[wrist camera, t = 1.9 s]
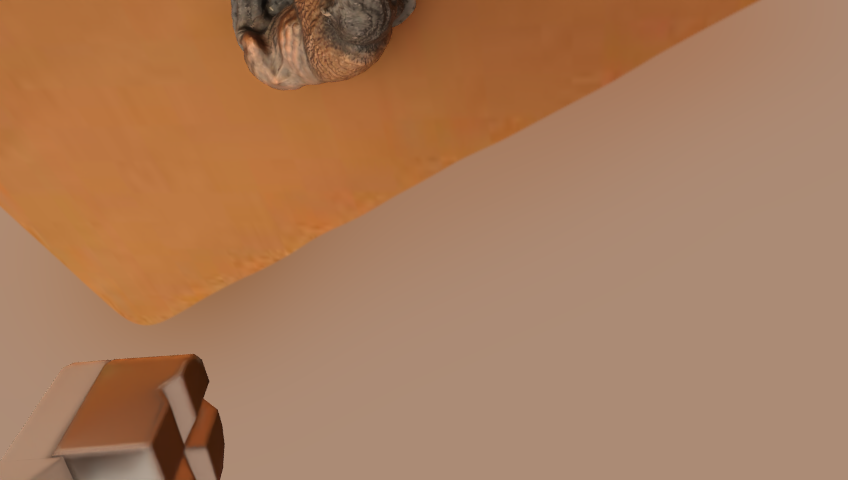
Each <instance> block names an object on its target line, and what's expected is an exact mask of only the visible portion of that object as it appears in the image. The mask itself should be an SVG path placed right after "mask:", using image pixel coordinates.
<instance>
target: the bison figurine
mask: <svg viewBox="0 0 848 480" xmlns="http://www.w3.org/2000/svg"><path fill="white" fill-rule="evenodd" d="M231 5H232V19H233V28H234V31H235V35H236V38H237V41H238V44H239V46H240V47H241V49H242V50H243V51H244V59H245V62H246V64H247V65H248V68H249V70H250V71H251V73H252V74H253V75H254V76H256V77H257V78H258V79H259V80H260V81H262V82H263V83H264V84H267V85H269V86H270V87H272V88H275V89H278V90H295V89H299V88H301V87H302V86H305V85H310V84H321V83H325V82H336V81H342V80H347V79H349V78H351V77H354V76H356V75H358V74H360V73H362V72H364V71H366V70H367V69H368V68H369V67H370V66H371V65H372V64H373V63H375V62H377V61H378V60H379V58H380V56H381V55H382V53H383V52H384V50H385V48H386V47H387V45H388V43H389V41H390V39H391V35H392V27H395V26H397V25H399V24H401V23H402V22H403V21H405V20H406V19H407V18H408V17H409V16H410V14H411V13H412V12H413V11H414V9H415V7H416V0H231Z"/></svg>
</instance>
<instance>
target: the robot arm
mask: <svg viewBox="0 0 848 480" xmlns="http://www.w3.org/2000/svg"><path fill="white" fill-rule="evenodd" d="M208 383H209V379H208V376H207V373H206V371H205V367H204V365H203V362H202V359H200V358H199V357H198V356H196V355H195V354H186V355H172V356H157V357H142V358H127V359H114V360H112V361H111V360H101V361H90V362H78V363H72V364H70V365H68V366H66V367H63V368H62V369H61V371H60V372H59V374H58V375H57V377H56V378H55V380H54V381H53V383H52V384H51V386H50V388H49V389H48V390H47V392H46V393H45V395H44V396H43V398H42V399H41V401H40V402H39V404H38V405H37V407H36V408H35V410H34V411H33V413H32V414H31V416H30V417H29V419H28V420H27V422H26V423H25V425H24V426H23V428H22V429H21V431H20V432H19V434H18V435H17V437H16V438H15V439H14V441H13V442H12V444H11V445H10V447H9V449H8V450H7V451H6V453H5V454H4V456H3V457H2V459H1V460H0V480H220V477H221V473H222V469H223V458H224V436H223V429H222V423H221V420H220V416H219V413H218V410H217V409H216V408H215V407H213V406H212V405H211V404H210V403H208V402H207V401H206V400H204V399H203V397H204V395H205V391H206V389H207V386H208Z"/></svg>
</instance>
